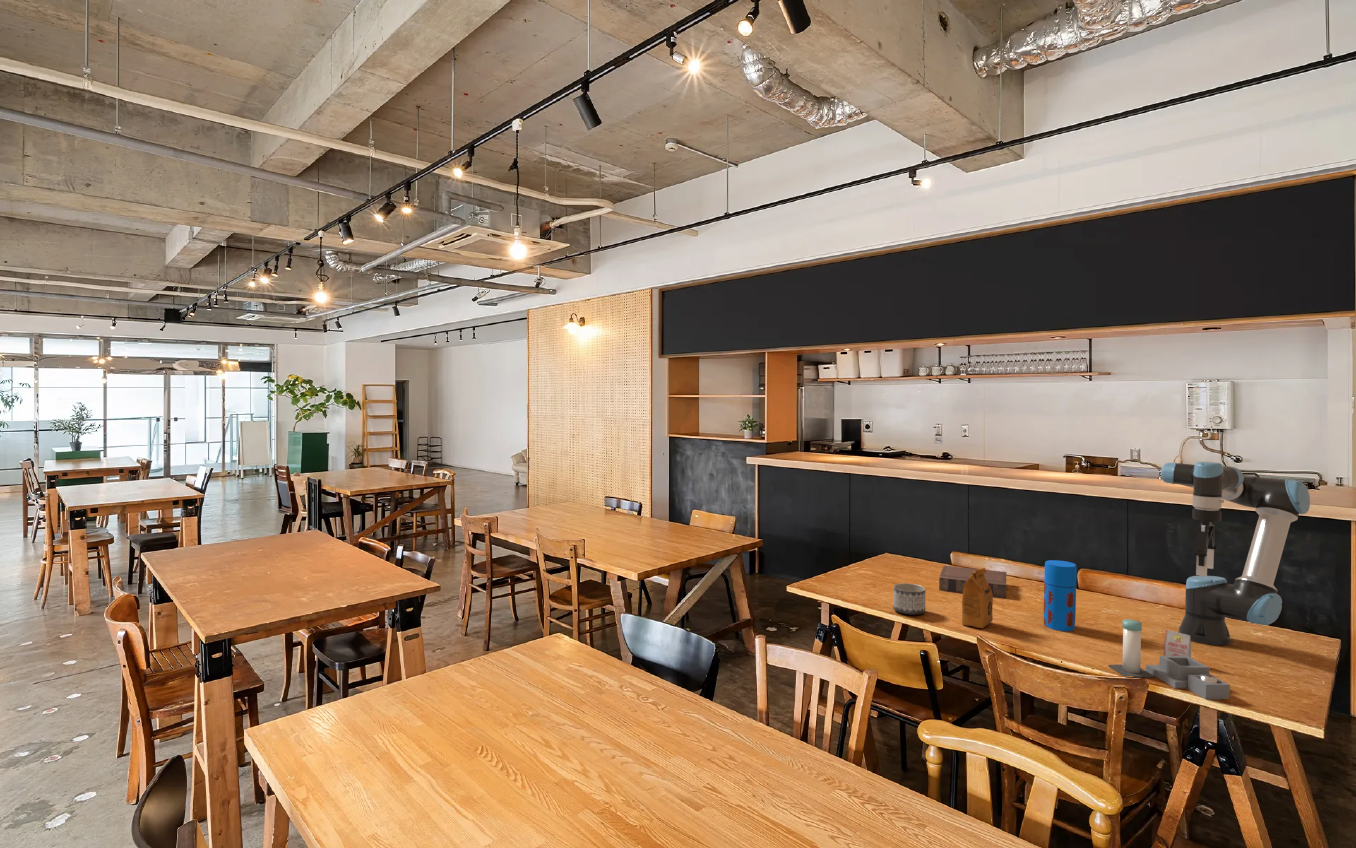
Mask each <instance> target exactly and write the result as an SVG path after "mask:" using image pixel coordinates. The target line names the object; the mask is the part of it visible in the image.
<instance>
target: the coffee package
mask: <svg viewBox="0 0 1356 848" xmlns="http://www.w3.org/2000/svg"><path fill="white" fill-rule="evenodd" d="M977 569H978V570H975V571H974V572H973V573H972V575H971V576H970V577H969V579H968V580H967V581H966V583H965V585H964V590H963V593H962V598H961V599H962V600H961V610H962V614H961V615H962V617H961V619H962V620H961V624H962V625H963V626H968V627H973V628H978V629H979V628H981V629H983V628H985V627H986V626H988V625H990V624H991V623H992V622H993V619H994V618H993V617H994V616H993V606H994V605H993V603H994V597H993V595H992V591H991V588H990V586H989V585H988V583H987V582H986V579H985V576H984V573H986V572H987V571H986V570H987V569H986V568H985V567H982V568H977Z"/></svg>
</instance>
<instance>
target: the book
mask: <svg viewBox="0 0 1356 848" xmlns="http://www.w3.org/2000/svg"><path fill="white" fill-rule="evenodd" d="M978 569H979V568H969V567H960V566H954V565H953V566H950V565H943V567H942V569H941V572H940V575H939V577H938V581H939V582H938V584H939V585H938V591H942V592H948V593H949V592H951V593H957V594H959V593H960V594H963V590H964V585H965V583H966V581H967V580H968V579H969V577H970V576H971V575H972V573H973V572H974V571H975V570H978ZM986 571H987V572H986V573H984V576H985V579H986V582H987V583H988V585H989V586H990V588H991V591H992V595H993V598H999V599H1000V598H1001V599H1007V571H999V570H992V569H991V570H990V569H986Z"/></svg>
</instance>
